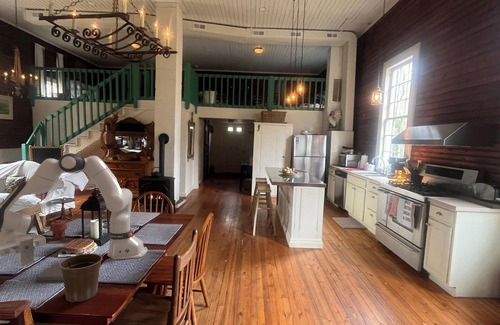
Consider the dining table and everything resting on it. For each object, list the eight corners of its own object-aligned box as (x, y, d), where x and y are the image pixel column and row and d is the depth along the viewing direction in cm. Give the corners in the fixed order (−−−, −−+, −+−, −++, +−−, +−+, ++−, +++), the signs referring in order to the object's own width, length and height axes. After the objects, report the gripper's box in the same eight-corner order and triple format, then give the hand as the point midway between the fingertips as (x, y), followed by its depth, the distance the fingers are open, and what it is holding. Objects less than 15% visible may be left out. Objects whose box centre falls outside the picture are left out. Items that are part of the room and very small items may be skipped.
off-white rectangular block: (29, 259, 136) (28, 235, 135) (34, 262, 132) (33, 238, 131) (16, 262, 132) (15, 238, 131) (21, 266, 128) (20, 241, 127)
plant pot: (86, 282, 135) (86, 250, 133) (110, 290, 128) (110, 256, 127) (51, 299, 120) (50, 264, 118) (77, 309, 113) (76, 272, 112)
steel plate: (82, 267, 149) (82, 263, 148) (67, 281, 135) (67, 276, 134) (54, 268, 147) (54, 263, 147) (36, 281, 133) (36, 276, 133)
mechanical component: (71, 236, 193) (58, 241, 183) (59, 235, 195) (46, 240, 185) (70, 219, 192) (58, 223, 182) (58, 218, 194) (45, 222, 184)
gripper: (-13, 242, 130) (-4, 250, 122) (39, 231, 147) (49, 237, 139) (-12, 255, 131) (-3, 264, 123) (39, 242, 147) (50, 249, 140)
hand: (25, 249), depth 131 cm, fingers closed on off-white rectangular block, 5 cm apart
